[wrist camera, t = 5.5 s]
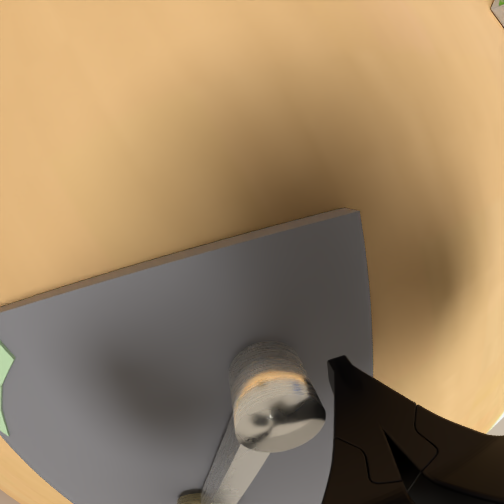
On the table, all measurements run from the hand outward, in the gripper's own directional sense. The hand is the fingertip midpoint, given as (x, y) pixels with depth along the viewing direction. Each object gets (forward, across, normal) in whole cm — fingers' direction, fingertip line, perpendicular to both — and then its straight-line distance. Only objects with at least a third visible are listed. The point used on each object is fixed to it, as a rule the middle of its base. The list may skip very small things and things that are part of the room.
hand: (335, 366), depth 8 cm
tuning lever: (+1, +5, +6) cm, 8 cm away
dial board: (+2, +10, +7) cm, 12 cm away
